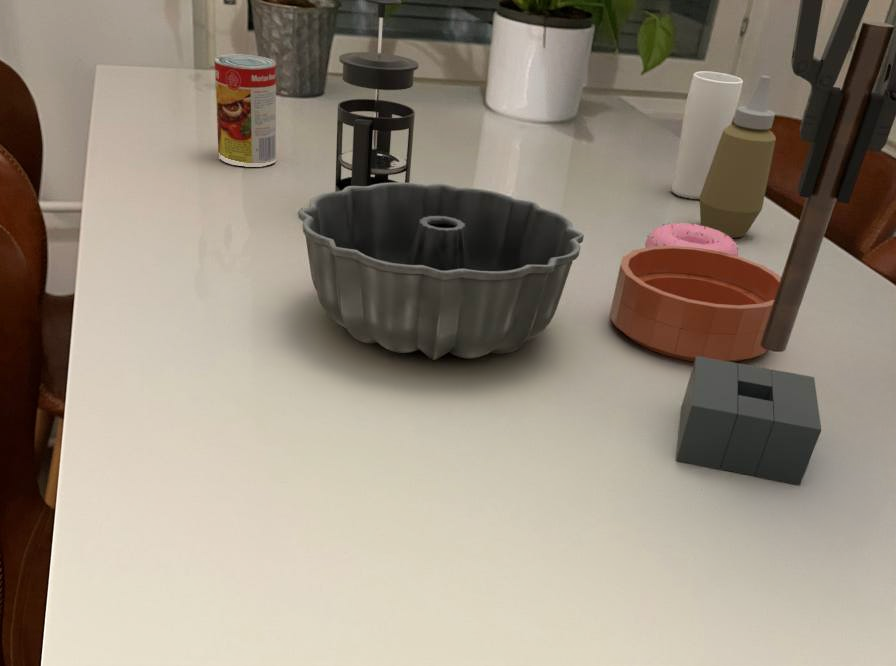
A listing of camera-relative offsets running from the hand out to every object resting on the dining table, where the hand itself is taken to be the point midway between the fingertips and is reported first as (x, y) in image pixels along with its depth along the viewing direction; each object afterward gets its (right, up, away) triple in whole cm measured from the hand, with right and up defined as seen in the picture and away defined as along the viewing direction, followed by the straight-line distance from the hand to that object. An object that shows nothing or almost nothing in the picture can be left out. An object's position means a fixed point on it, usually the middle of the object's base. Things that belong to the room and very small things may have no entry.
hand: (822, 194), depth 71 cm
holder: (-2, -15, +13) cm, 20 cm away
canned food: (-52, +34, +65) cm, 90 cm away
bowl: (-1, 0, +31) cm, 31 cm away
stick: (-1, -9, +7) cm, 11 cm away
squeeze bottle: (+11, +21, +59) cm, 63 cm away
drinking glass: (+10, +32, +71) cm, 78 cm away
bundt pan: (-28, -1, +27) cm, 39 cm away
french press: (-35, +20, +51) cm, 65 cm away
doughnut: (+3, +12, +46) cm, 48 cm away
